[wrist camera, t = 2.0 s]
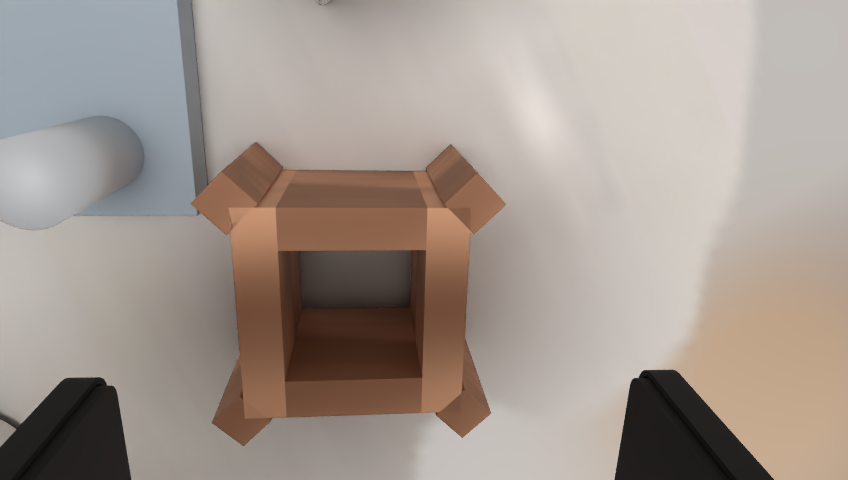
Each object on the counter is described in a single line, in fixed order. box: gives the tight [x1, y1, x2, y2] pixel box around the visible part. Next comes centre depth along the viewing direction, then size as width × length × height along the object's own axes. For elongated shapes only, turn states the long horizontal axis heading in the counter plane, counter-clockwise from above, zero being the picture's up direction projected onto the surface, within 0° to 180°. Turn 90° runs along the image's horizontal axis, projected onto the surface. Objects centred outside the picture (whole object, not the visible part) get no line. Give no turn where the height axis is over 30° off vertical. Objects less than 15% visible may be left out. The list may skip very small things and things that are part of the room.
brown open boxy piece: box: [190, 142, 506, 446], centre depth 19 cm, size 8×8×5 cm
